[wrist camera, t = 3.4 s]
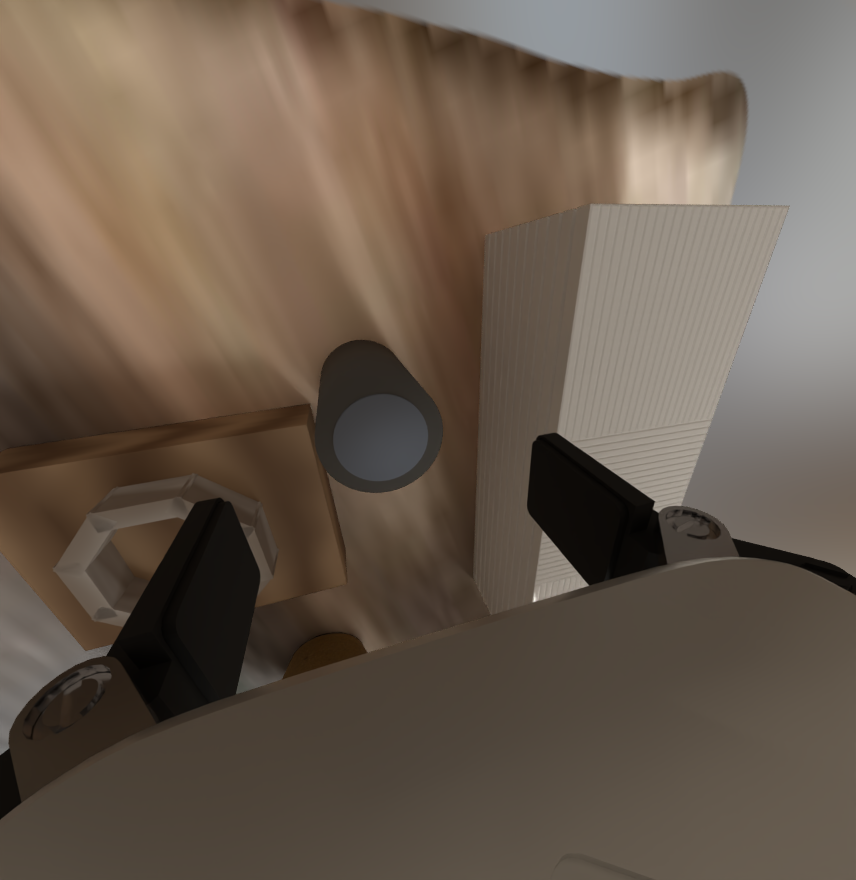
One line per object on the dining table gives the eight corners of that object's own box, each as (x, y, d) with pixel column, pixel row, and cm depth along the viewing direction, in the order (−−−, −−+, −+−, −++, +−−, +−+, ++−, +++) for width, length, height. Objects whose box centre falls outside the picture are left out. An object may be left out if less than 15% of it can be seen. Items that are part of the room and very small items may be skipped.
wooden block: (310, 403, 24) (303, 441, 18) (345, 549, 30) (348, 610, 25) (7, 448, 21) (-116, 512, 15) (117, 602, 27) (60, 689, 21)
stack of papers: (558, 555, 39) (631, 643, 30) (472, 576, 37) (521, 679, 27) (617, 233, 25) (790, 205, 16) (483, 235, 23) (591, 203, 13)
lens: (399, 335, 24) (440, 368, 15) (407, 413, 26) (446, 481, 18) (312, 345, 23) (299, 387, 14) (330, 426, 25) (329, 506, 16)
